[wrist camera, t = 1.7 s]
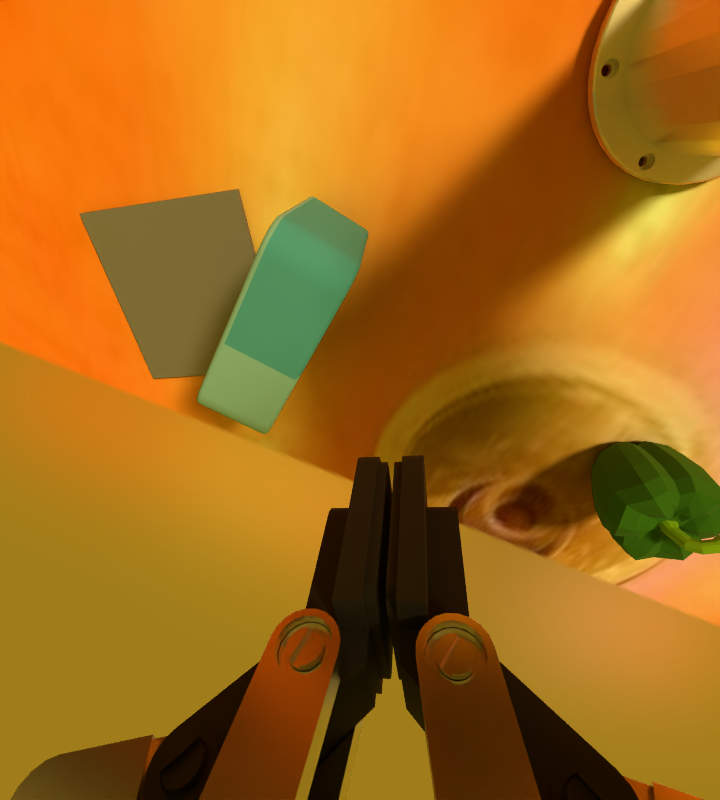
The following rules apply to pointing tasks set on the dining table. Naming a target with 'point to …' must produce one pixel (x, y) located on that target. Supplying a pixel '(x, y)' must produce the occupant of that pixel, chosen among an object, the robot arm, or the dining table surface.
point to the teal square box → (282, 312)
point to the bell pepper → (656, 501)
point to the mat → (176, 274)
